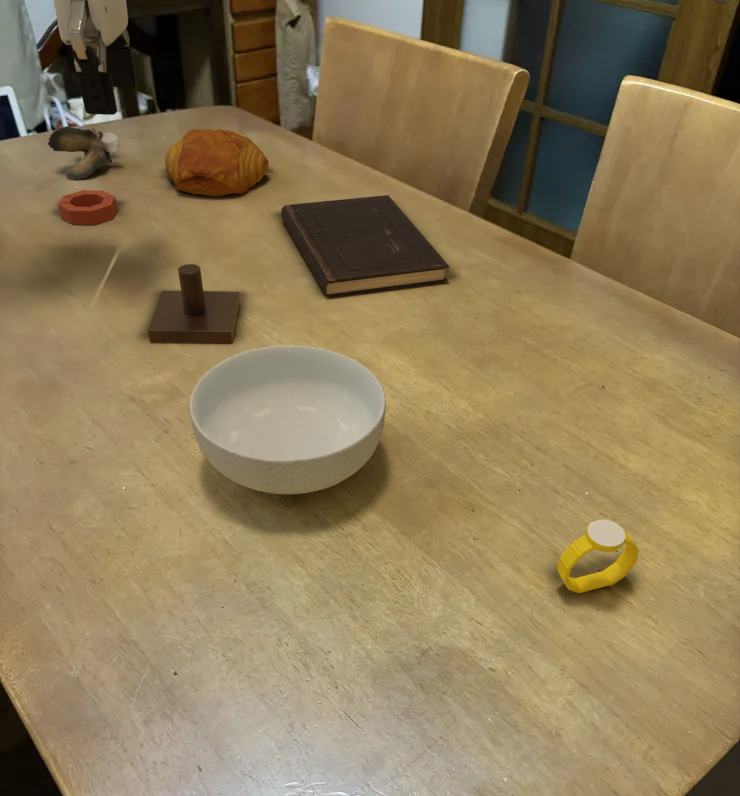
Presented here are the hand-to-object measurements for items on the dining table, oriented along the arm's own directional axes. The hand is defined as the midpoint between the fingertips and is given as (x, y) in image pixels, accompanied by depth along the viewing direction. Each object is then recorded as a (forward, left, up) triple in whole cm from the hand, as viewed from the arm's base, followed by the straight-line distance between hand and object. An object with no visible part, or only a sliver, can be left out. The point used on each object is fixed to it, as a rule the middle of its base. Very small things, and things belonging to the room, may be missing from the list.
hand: (112, 99), depth 82 cm
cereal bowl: (+21, -37, -20) cm, 47 cm away
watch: (+45, -52, -20) cm, 71 cm away
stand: (+9, -13, -20) cm, 25 cm away
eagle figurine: (-14, +33, -20) cm, 41 cm away
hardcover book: (+28, +6, -20) cm, 34 cm away
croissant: (+6, +29, -20) cm, 35 cm away
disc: (-10, +16, -20) cm, 27 cm away
